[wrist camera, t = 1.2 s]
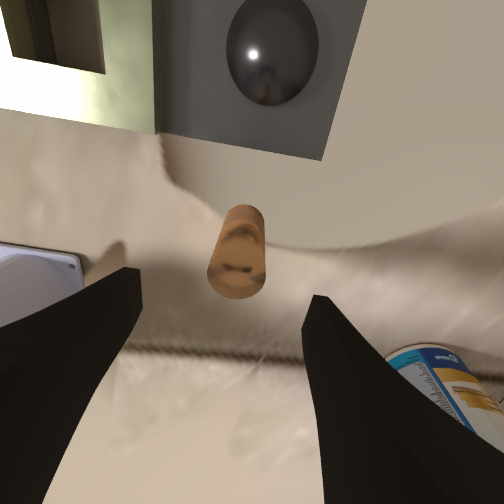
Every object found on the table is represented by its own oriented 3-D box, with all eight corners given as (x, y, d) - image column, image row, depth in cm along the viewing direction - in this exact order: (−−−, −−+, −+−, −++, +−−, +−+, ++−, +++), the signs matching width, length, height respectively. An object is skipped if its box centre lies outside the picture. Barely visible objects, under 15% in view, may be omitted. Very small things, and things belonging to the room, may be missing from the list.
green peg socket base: (316, 157, 16) (331, 169, 13) (-135, 76, 15) (-255, 64, 12) (369, -36, 12) (413, -97, 9) (-259, -176, 11) (-510, -317, 7)
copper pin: (260, 244, 20) (260, 302, 14) (222, 238, 20) (205, 294, 13) (267, 208, 18) (270, 255, 12) (227, 201, 18) (209, 245, 12)
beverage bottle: (369, 348, 25) (624, 896, 7) (462, 332, 24) (1044, 962, 6) (375, 397, 29) (552, 834, 11) (455, 386, 27) (798, 866, 10)
